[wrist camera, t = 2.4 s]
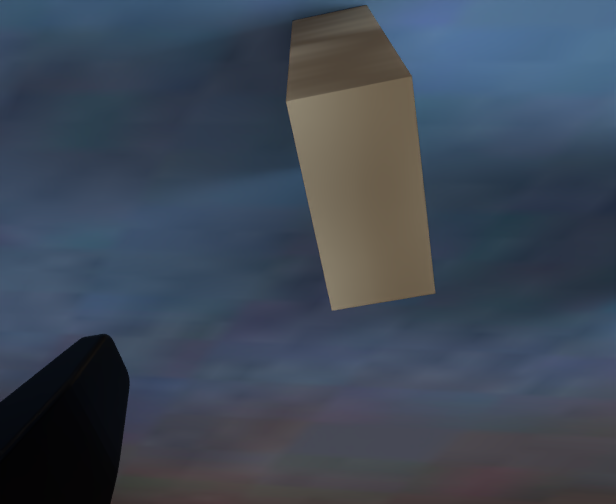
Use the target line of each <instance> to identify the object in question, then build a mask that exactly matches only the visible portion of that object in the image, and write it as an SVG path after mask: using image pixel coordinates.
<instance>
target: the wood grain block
mask: <svg viewBox="0 0 616 504" xmlns="http://www.w3.org/2000/svg"><path fill="white" fill-rule="evenodd" d="M286 104H287V108H288V113H289V117H290V122H291V127H292V131H293V136H294V140H295V145H296V149H297V154H298V158H299V163H300V167H301V172H302V177H303V181H304V186H305V190H306V195H307V199H308V204H309V208H310V213H311V217H312V222H313V227H314V231H315V236H316V240H317V245H318V249H319V254H320V258H321V263H322V267H323V272H324V277H325V281H326V286H327V290H328V295H329V299H330V304H331V308H332V311H333V310H339V309H345V308H351V307H357V306H363V305H369V304H375V303H381V302H387V301H393V300H399V299H405V298H411V297H417V296H423V295H429V294H435V285H434V276H433V267H432V258H431V248H430V239H429V230H428V221H427V212H426V202H425V193H424V184H423V175H422V165H421V156H420V147H419V138H418V128H417V119H416V110H415V101H414V92H413V82H412V76H411V74H410V73H409V71H408V69H407V68H406V66H405V65H404V63H403V62H402V60H401V58H400V57H399V55H398V54H397V52H396V51H395V49H394V48H393V46H392V44H391V43H390V41H389V40H388V38H387V37H386V35H385V33H384V32H383V30H382V29H381V27H380V26H379V24H378V22H377V21H376V19H375V18H374V16H373V15H372V13H371V11H370V10H369V8H368V7H367V5H365V6H360V7H355V8H351V9H346V10H341V11H336V12H332V13H327V14H322V15H318V16H313V17H308V18H304V19H299V20H294V21H292V33H291V46H290V58H289V70H288V83H287V95H286Z"/></svg>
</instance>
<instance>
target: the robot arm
mask: <svg viewBox="0 0 616 504" xmlns="http://www.w3.org/2000/svg"><path fill="white" fill-rule="evenodd" d="M129 386H130V381H129V375H128V372H127V369H126V367H125V365H124V363H123V360H122V358H121V356H120V354H119V352H118V350H117V347H116V345H115V343H114V341H113V339H112V338H111V337H110V336H109V335H107V334H100V335H94V336H87V337H83V338H81V339H79V340H78V341H77V342H76V343H74V344H73V345H72V346H71V347H69V348H68V349H67V350H66V351H64V352H63V353H62V354H60V355H59V356H58V357H57V358H55V359H54V360H53V361H52V362H50V363H49V364H48V365H47V366H45V367H44V368H43V369H42V370H40V371H39V372H38V373H37V374H35V375H34V376H33V377H32V378H30V379H29V380H28V381H26V382H25V383H24V384H23V385H21V386H20V387H19V388H18V389H16V390H15V391H14V392H13V393H11V394H10V395H9V396H8V397H6V398H5V399H4V400H3V401H1V402H0V504H110V503H111V499H112V495H113V491H114V487H115V482H116V478H117V473H118V468H119V461H120V455H121V447H122V440H123V432H124V425H125V417H126V410H127V402H128V394H129Z"/></svg>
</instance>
